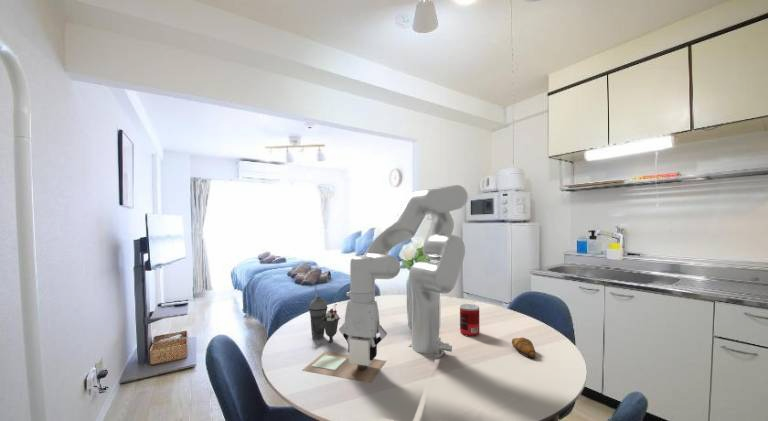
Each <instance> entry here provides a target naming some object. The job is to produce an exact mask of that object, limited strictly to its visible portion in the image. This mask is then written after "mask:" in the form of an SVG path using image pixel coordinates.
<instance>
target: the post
mask: <svg viewBox="0 0 768 421" xmlns="http://www.w3.org/2000/svg"><path fill="white" fill-rule="evenodd" d="M357 369H358V370H361V371H362V370H366V369H367V366H365V365H359V364H357Z"/></svg>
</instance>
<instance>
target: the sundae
mask: <svg viewBox="0 0 768 421" xmlns="http://www.w3.org/2000/svg"><path fill="white" fill-rule="evenodd" d="M337 305H338V304H337V303H336V304H334V306H333V307H332V308H330V309H329V310H327V312H326V316H325V315H324V314H323V316H324V317H323V318H322V321H324V325H325V330H324V333H325V335H326V336H327V337H328V338H329V341H328V343H329V344H333V343H334V340H333V338H334V336H335V335H336V334H337V333H338V332H337V331H338V325H339V322H340V319H341V318H340V317H339V316H340V315H339V314H338V313H337V308H336V306H337Z"/></svg>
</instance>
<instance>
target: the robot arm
mask: <svg viewBox="0 0 768 421" xmlns="http://www.w3.org/2000/svg"><path fill="white" fill-rule="evenodd" d="M468 199H469V197H468V192H467V189H465V187H463V186H461V185H460V184H453V185H445V186H438V187H434V188H430V189H422V190H421V189H420V190H416V191H413V192H411V193H410V194H409V195H408V196H407V198H406V200H405V201H404V204H403V205H402V207H401V208H400V210H399V211H398V214H397V215H396V216H395V219H394V220H393V222H392V223H391V224H390V225H389V226H388V227H387V228H385V229H384V230H382V232H381V233H380V234H378V236H376V237H375V239H374V240H372V242H371V244H370V246H369V248H368V249H367V250H366V252H365V253H364V255H356V256H353V257H351V259H350V264H349V265H350V266H349V268H350V269H349V270H350V271H349V273H350V276H349V277H350V279H349V280H350V282H349V283H350V284H349V285H350V286H349V287H350V288H349V291H347V292H346V294H345V296H346V297H348V298H349V300H348V301H347V303H346V308H345V314H344V323H343V324H342V325H341V326H340V327H339V328H338V331H339V332H340V333H341V335H342V336H343V338H344V339H345V340H346V343H347V344H348V346H347V347H348V348H347V349H348V350H347V351H348V353H349V339H350V338H351V337H353V336H354V337H362V338H369V339H370V342H371V347H370V360H373V359H376V357H377V354H378V352H377V351H378V350H377V349H378V347H377V346H378V345H379V343H381V341H382V340H383V339H384V338H385V337H387V335H388V332H387V331H386V330H385V329H384V328H383V326H382V325H381V324H380V313H379V312H380V311H379V306H378V301H377V300H376V299H375V298H376V280H391V279H394V278H395V277H397V276H398V275H399V273H400V271H401V263H400V260H399V259H397V257H395V256H394V255H391V254H390V255H389V254H388V253H390V251H391V250H392V249H393V248H395V247H396V246H398V245H400V244H403V243H404V242H407V241H408V240H410V239H412V238H413V237H415V236H416V234H417V232H418V230H419V228H420V226H421V224H422V222H423V220H424V219H425V217H426V216H427V215H430V216H431V223H430V225H429V229H428V231H427V233H426V234H427V235H426V237H425V239H424V243H423V245H422V254H423V256H424V257H426V259H428V260H432V261H438V263H436V262H432V261H416V262H415V263H414V264H412V266H411V267H410V269H409V273H408V274H409V275H408V280H409V283H410V284H409V285H410V291H411V344H409V345H408V346H407V347H409V348H411V349H412V350H413V351H414V352H417V353H419V354H424V355H425V354H426V355H429V354H431V355H432V354H435V353H436V354H435V358H434V360H436V359H439V358H442V357H443V355H444V351H446V352H451V353H452V352H453V345H450V343H449V342H443V341H442V338H441V337H440V300H439V296H438V293H439V294H445V295H447V294H449V293H450V292H452V291H453V290H454V288H455V286H456V284H457V281H458V279H459V275H460V272H461V269H462V266H463V263H464V260H465V256H466V246H465V243H464V241H463V239H462V238H461V237H459V236H458V235H454V234H453V231H454V228H455V227H454V226H455V222H454V219H453V216H452V214H451V212H452V211H457V210H459V209H462V208H464V206H466V204H467V202H468ZM377 334H380V335H379V336H377Z"/></svg>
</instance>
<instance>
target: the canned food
mask: <svg viewBox="0 0 768 421" xmlns="http://www.w3.org/2000/svg"><path fill="white" fill-rule="evenodd" d="M459 331H460V332H459V333H460V334H461V333H462V334H463V336H465V335H467V336H466V337H470V336H474V337H477V336H476V335H478V334H479V335H480V307H479V305H476V304H472V303H471V304H470V303H465V304H460V305H459ZM462 334H461V335H462ZM479 335H478V336H479Z"/></svg>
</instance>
